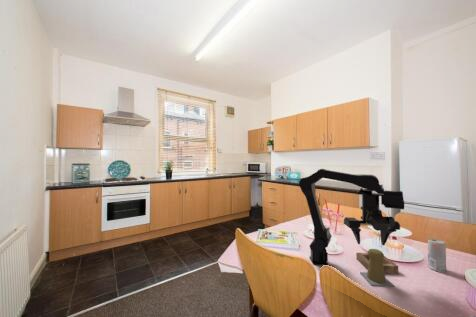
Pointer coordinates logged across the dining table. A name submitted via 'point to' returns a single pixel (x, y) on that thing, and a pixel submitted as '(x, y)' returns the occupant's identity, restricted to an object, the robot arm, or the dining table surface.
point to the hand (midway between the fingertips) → (370, 244)
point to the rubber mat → (386, 284)
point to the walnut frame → (387, 264)
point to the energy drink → (437, 255)
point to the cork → (376, 266)
